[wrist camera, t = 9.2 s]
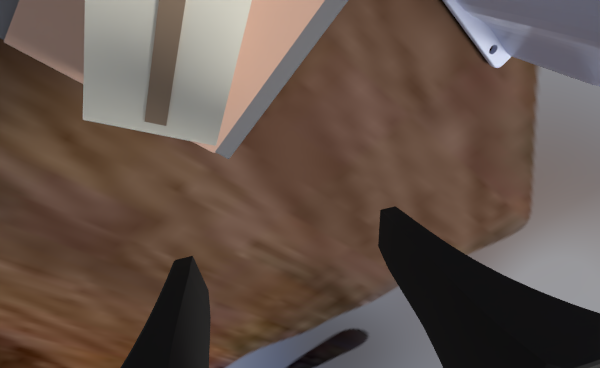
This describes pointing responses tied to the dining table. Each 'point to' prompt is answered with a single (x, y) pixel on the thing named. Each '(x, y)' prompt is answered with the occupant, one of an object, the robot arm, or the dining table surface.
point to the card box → (162, 64)
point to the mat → (249, 68)
